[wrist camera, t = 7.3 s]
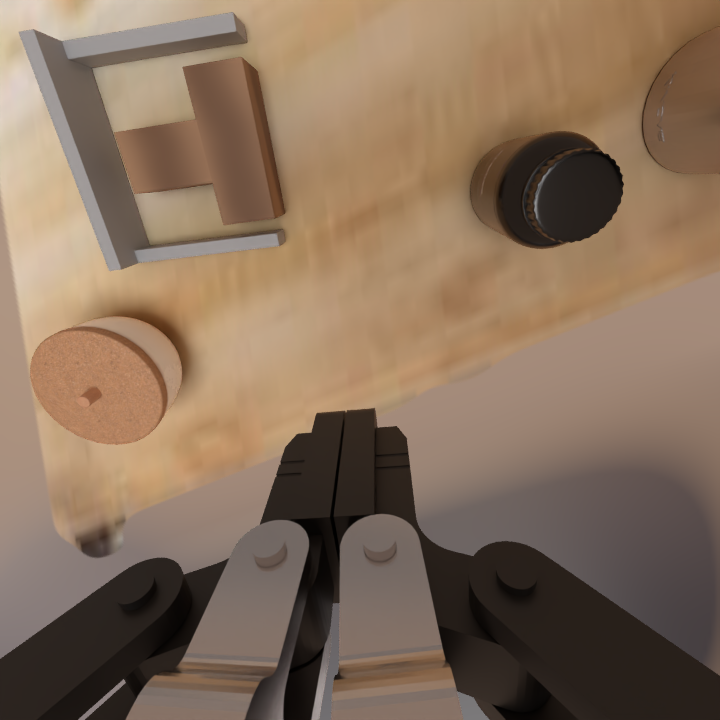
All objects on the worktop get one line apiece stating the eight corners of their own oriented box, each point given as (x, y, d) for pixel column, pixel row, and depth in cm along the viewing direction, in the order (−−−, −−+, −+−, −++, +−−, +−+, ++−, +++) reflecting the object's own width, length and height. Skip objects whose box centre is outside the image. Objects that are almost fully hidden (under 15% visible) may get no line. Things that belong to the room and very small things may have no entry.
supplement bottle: (462, 153, 32) (508, 142, 21) (552, 128, 31) (650, 104, 20) (474, 241, 34) (519, 272, 23) (556, 220, 33) (644, 243, 23)
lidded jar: (185, 298, 37) (128, 335, 29) (210, 398, 42) (167, 456, 33) (74, 303, 38) (-13, 341, 29) (110, 401, 42) (44, 459, 34)
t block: (257, 71, 30) (241, 56, 26) (285, 213, 34) (274, 218, 30) (129, 92, 31) (96, 81, 27) (172, 228, 35) (148, 235, 31)
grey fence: (244, 24, 29) (219, -3, 24) (285, 241, 35) (272, 251, 30) (73, 53, 30) (18, 31, 25) (142, 258, 36) (109, 270, 31)
